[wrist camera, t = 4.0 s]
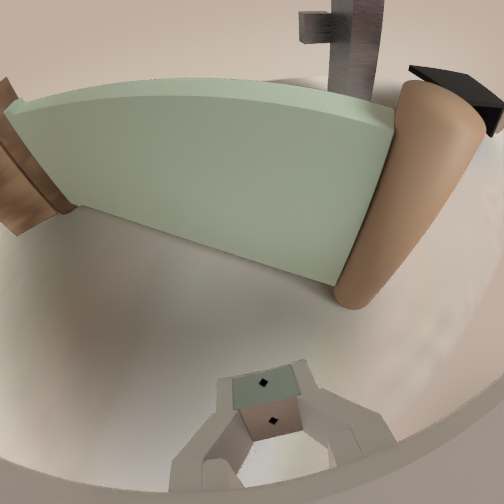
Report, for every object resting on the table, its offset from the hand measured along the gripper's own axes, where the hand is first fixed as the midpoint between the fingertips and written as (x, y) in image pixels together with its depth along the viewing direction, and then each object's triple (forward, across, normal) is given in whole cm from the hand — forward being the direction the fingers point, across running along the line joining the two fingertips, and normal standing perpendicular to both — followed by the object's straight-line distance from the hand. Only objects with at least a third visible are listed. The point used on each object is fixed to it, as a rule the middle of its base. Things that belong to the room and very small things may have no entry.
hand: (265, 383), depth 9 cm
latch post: (+19, -12, -11) cm, 25 cm away
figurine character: (+16, -26, -8) cm, 31 cm away
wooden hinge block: (+17, +18, -9) cm, 26 cm away
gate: (+11, +3, -4) cm, 12 cm away
